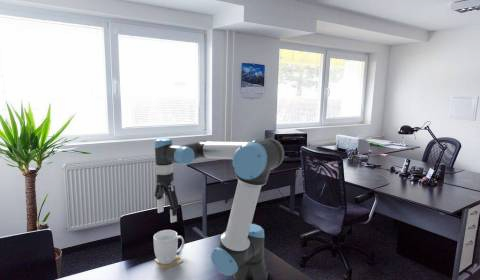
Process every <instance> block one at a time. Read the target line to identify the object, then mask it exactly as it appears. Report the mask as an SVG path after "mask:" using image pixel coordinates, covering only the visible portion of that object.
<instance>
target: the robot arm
mask: <svg viewBox="0 0 480 280" xmlns="http://www.w3.org/2000/svg"><path fill="white" fill-rule="evenodd" d="M154 154H155V155H154V157H155V158H154V159H155V173H156V185H155V191H154V198H156V202H157V203H156V205H157V213H158V214H160V213H164V195H165V196H166V198H167V200H168V204H169V215H170V217H169V218H170V223H171V224H172V223H175V222H178V216H177V209H180V204H179V201H178V196H177V194H176V187H175V185H172V182H174V178H175V177H174V164H179V165H186V166H187V165H190V164H191V163H193V161H194V160H197V159H202V158H203V159H219V160H221V159H222V160H232V167H233V168H234V173H235V174H234V175H235V178H236V179H237V185H236V189H235V194H234V196H233V202H232V206H231V210H230V214H229V218H228V222H227V226H226V229H225V231H223V233H221V236H220V239H219V243H218V246H216V247H214V248H213V250H212V251H211V253H210V255H211V256H210V258H211V262H212V264H213V266H214V268H215V269H216V270H217V271H218V272H219V273H220V274H221V275H224V276H228V277H229V276H230V277H231V276H233V279H234V280H268V278H269V277H268V273H269V272H268V268H267V265H266V262H265V229H264V228H263V227H262V226H261V225H258V224H256V223H253V219H254V215H255V211H256V208H257V207H256V206H257V203H258V200H259V196H260V193H261V189H262V187H263V186H264V185H266V184H267V182H268V179H269V175H270V172H271V171H273V170H274V169H276V168H278V167H279V166H280V165H281V164H282V162H283V160H284V159H285V158H284V157H285V151H284V147H283V145H282V144H281V143H280V141H278V140H276V139H275V138H271V137H269V138H262V139H261V138H260V139H254V140H253V141H209V140H207V139H205V140H200V141H199V140H198V141H196V142H195V141H194V142H190V143H186V144H181V145H179V144H177V145H176V144H173V140H172V139H171V138H168V137H166V138H165V137H162V138H157V139H156V140H155V141H154Z"/></svg>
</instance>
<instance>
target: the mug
mask: <svg viewBox="0 0 480 280" xmlns="http://www.w3.org/2000/svg"><path fill="white" fill-rule="evenodd" d="M179 239H180V240H181V245H180V247H179V246H178V245H179ZM152 240H153V249H154V250H153V251H154V254H155V259H156V258H157V260H158V261H159V262H160V263H161V264H170V263H172V262H173V261H174V259H175V257H176V255H178V253H181V251H182V250H183V249H184V247H185V239H184V238H183V236H182V235H178V232H177V231H175V230H172V229H163V230H160V231H157V232H156V233H154V235H153V239H152ZM178 247H179V248H178Z"/></svg>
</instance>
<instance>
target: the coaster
mask: <svg viewBox="0 0 480 280" xmlns="http://www.w3.org/2000/svg"><path fill="white" fill-rule="evenodd" d="M154 261H155V262H156V264H157V265H158V266H159V267H160V268H161V269H162V270H163V271H165V270H167V269H169V268H173V267H175V266H177V265H180V264H182V263H184V260H183V258H181V257H179V255H178V254H176V257H175V259H174V261H173V262H172V263H170V264H161V263H160V262H159V261H158V260H157V258H156V257H155V258H154Z"/></svg>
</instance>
